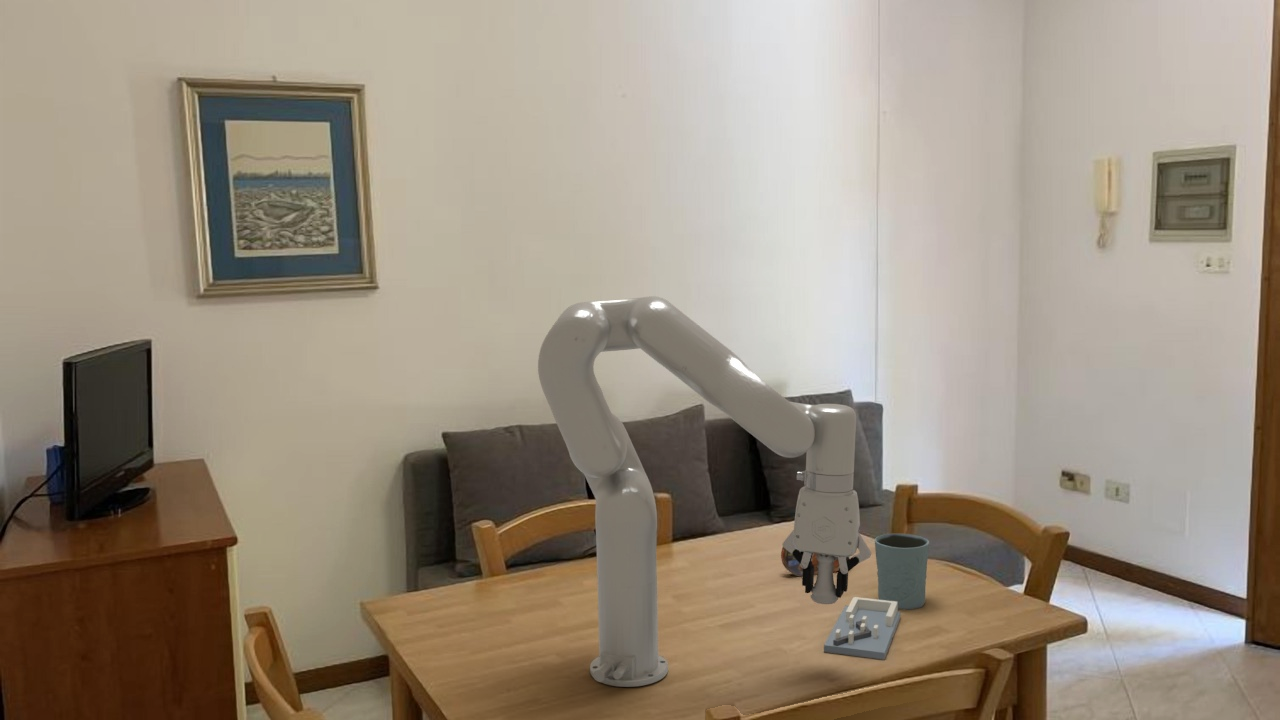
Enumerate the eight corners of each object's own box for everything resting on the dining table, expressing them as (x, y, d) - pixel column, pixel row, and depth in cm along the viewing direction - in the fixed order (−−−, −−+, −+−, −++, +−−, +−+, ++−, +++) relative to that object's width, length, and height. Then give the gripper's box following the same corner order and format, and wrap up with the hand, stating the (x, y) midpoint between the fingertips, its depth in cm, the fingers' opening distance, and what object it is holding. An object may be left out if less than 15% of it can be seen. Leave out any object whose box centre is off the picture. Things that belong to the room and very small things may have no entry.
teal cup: (890, 613, 190) (891, 550, 189) (864, 595, 200) (864, 535, 199) (939, 607, 193) (940, 544, 192) (911, 589, 203) (911, 530, 201)
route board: (884, 659, 169) (884, 642, 169) (823, 652, 173) (823, 634, 172) (900, 617, 188) (900, 601, 187) (845, 611, 191) (845, 596, 191)
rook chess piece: (818, 593, 169) (820, 546, 168) (843, 600, 167) (845, 551, 166) (805, 600, 166) (807, 552, 165) (829, 607, 163) (831, 558, 162)
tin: (785, 579, 211) (785, 539, 210) (779, 574, 214) (778, 534, 213) (851, 570, 215) (851, 531, 214) (843, 566, 218) (843, 527, 217)
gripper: (771, 481, 164) (767, 592, 166) (879, 492, 158) (873, 608, 160) (783, 471, 171) (778, 578, 173) (886, 482, 164) (880, 593, 167)
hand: (824, 591), depth 166 cm, fingers closed on rook chess piece, 4 cm apart
